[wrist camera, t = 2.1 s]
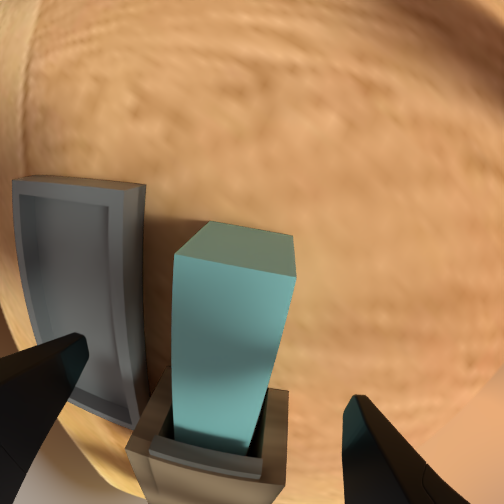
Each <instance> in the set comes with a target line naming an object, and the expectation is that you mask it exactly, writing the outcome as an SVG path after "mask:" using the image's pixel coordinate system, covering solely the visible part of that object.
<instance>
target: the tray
mask: <svg viewBox="0 0 504 504" xmlns="http://www.w3.org/2000/svg"><path fill="white" fill-rule="evenodd" d="M145 193H146V185H145V184H136V183H127V182H118V181H108V180H98V179H87V178H75V177H62V176H47V175H33V176H28V177H23V178H19V179H14V180H12V202H13V221H14V233H15V242H16V251H17V258H18V265H19V271H20V277H21V282H22V287H23V292H24V297H25V301H26V306H27V310H28V314H29V318H30V322H31V325H32V329H33V332H34V336H35V339H36V342H37V345H40V344H42V343H45V342H48V341H51V340H54V339H57V338H59V337H62V336H65V335H68V334H71V333H73V332H77V333H80V334H82V335H84V336H85V337H86V340H87V345H88V349H89V359H88V361H87V363H86V365H85V367H84V369H83V371H82V374H81V376H80V378H79V380H78V382H77V384H76V386H75V388H74V390H73V392H72V394H71V395H70V397H69V399H68V400H67V401H68V402H70V403H72V404H74V405H76V406H78V407H80V408H82V409H84V410H86V411H88V412H90V413H92V414H95V415H97V416H99V417H101V418H104V419H106V420H108V421H111V422H113V423H116V424H118V425H121V426H123V427H126V428H128V429H131V430H134V429H135V427H136V425H137V423H138V421H139V419H140V417H141V415H142V413H143V411H144V409H145V407H146V406H147V404H148V402H149V400H150V392H149V383H148V374H147V363H146V351H145V337H144V318H143V276H142V268H143V226H144V207H145Z"/></svg>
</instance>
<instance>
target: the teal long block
mask: <svg viewBox="0 0 504 504" xmlns="http://www.w3.org/2000/svg"><path fill="white" fill-rule="evenodd" d="M295 282H296V265H295V254H294V243H293V236H291V235H286V234H280V233H275V232H270V231H264V230H259V229H253V228H248V227H242V226H237V225H231V224H225V223H220V222H214V221H209V222H208V223H207V224H206V225H205V226H204V227H203V228H202V229H201V230H199V231H198V232H197V233H196V234H195V235H194V236H193V237H192V238H191V239H190V240H189V241H188V242H187V243H185V244H184V245H183V246H182V247H181V248H180V249H179V250H178V251H177V252H176V253H175V254H174V268H173V289H172V328H171V363H172V400H173V420H174V436H175V441H178V442H182V443H186V444H189V445H193V446H197V447H201V448H206V449H210V450H215V451H220V452H224V453H230V454H235V455H241V456H246V454H247V451H248V448H249V444H250V441H251V438H252V435H253V432H254V429H255V426H256V423H257V420H258V416H259V413H260V410H261V407H262V403H263V400H264V397H265V393H266V390H267V387H268V383H269V380H270V376H271V373H272V369H273V366H274V362H275V359H276V355H277V351H278V348H279V344H280V340H281V337H282V333H283V329H284V325H285V322H286V318H287V314H288V310H289V306H290V302H291V298H292V294H293V290H294V286H295Z"/></svg>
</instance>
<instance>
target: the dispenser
mask: <svg viewBox="0 0 504 504" xmlns="http://www.w3.org/2000/svg"><path fill="white" fill-rule="evenodd" d="M288 400H289V391H283V390H276V389H270V388H269V389H268V392H267V396H266V399H265V402H264V406H263V409H262V412H261V415H260V418H259V422H258V425H257V428H256V431H255V434H254V437H253V440H252V443H251V446H250V449H249V452H248V455H247V456H241V455H235V454H230V453H224V452H220V451H215V450H210V449H206V448H201V447H197V446H193V445H189V444H186V443H182V442H178V441H175V436H174V420H173V400H172V367H168V366H167V367H166V369H165V371H164V373H163V375H162V377H161V379H160V380H159V382H158V384H157V386H156V388H155V390H154V392H153V394H152V396H151V398H150V400H149V402H148V404H147V406H146V407H145V409H144V411H143V413H142V415H141V417H140V419H139V421H138V423H137V425H136V427H135V429H134V431H133V433H132V435H131V437H130V439H129V441H128V443H127V445H126V447H125V451H126V453H127V456H128V459H129V461H130V464H131V466H132V468H133V471H134V473H135V476H136V478H137V480H138V482H139V485H140V487H141V489H142V491H143V493H144V495H145V498H146V500H147V502H148V504H272V503H273V501H274V500H275V499H276V497H277V496H278V495H279V493H280V492H281V491H282V489H283V488H284V487H285V483H286V463H287V437H288Z"/></svg>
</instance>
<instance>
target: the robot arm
mask: <svg viewBox="0 0 504 504" xmlns="http://www.w3.org/2000/svg"><path fill="white" fill-rule="evenodd" d="M88 359H89V349H88V345H87V340H86V337H85V336H84V335H82V334H80V333H77V332H73V333H71V334H68V335H65V336H62V337H59V338H57V339H54V340H51V341H48V342H45V343H42V344H40V345H37V346H34V347H31V348H28V349H25V350H22V351H19V352H16V353H14V354H11V355H8V356H5V357H2V358H0V504H13V502H14V499H15V497H16V495H17V493H18V491H19V489H20V487H21V484H22V482H23V480H24V478H25V476H26V473H27V472H28V470H29V468H30V466H31V464H32V462H33V460H34V458H35V456H36V455H37V453H38V451H39V449H40V447H41V445H42V443H43V441H44V440H45V438H46V436H47V434H48V433H49V431H50V429H51V427H52V426H53V424H54V422H55V420H56V419H57V417H58V415H59V414H60V412H61V410H62V409H63V407H64V405H65V404H66V402H67V400H68V399H69V397H70V395H71V394H72V392H73V390H74V388H75V386H76V384H77V382H78V380H79V378H80V376H81V374H82V371H83V369H84V367H85V365H86V363H87V361H88ZM342 466H343V481H344V498H345V504H470V503H469V502H468V501H467V500H465V499H464V498H463V497H462V496H460V494H458V493H457V492H456V491H455V490H454V489H452V488H451V487H450V486H449V485H448V484H447V483H446V482H444V480H442V478H440V476H439V475H438V474H436V472H435V471H434V470H433V469H432V468H431V467H430V466H429V465H428V464H426V461H425V460H424V459H423V458H422V457H421V456H420V455H419V454H418V453H417V452H416V450H415V449H414V448H413V447H412V446H411V445H410V444H409V443H408V442H407V440H406V439H405V438H404V437H403V436H402V435H401V434H400V433H399V432H398V431H397V429H396V428H395V427H394V426H393V425H392V424H391V423H390V422H389V420H388V419H387V418H386V417H385V416H384V415H383V414H382V413H381V412H380V410H379V409H378V408H377V407H376V406H375V405H374V404H373V403H372V401H371V400H370V399H369V398H368V397H367V396H366V395H353V396H352V398H351V399H350V401H349V403H348V405H347V406H346V408H345V410H344V413H343V433H342Z"/></svg>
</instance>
